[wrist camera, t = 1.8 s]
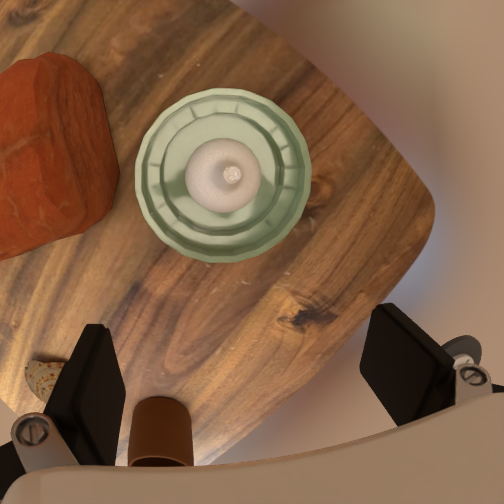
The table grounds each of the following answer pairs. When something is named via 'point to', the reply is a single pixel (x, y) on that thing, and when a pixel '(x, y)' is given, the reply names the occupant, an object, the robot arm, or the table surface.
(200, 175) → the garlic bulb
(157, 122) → the bowl
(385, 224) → the table surface
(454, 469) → the robot arm
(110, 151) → the bread
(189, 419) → the mug
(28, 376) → the seashell
